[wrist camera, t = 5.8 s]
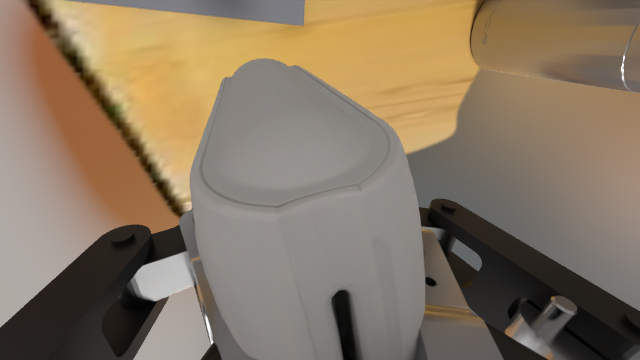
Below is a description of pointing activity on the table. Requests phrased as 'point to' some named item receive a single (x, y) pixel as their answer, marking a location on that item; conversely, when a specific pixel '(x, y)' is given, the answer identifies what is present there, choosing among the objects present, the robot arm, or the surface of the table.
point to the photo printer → (307, 221)
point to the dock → (222, 8)
